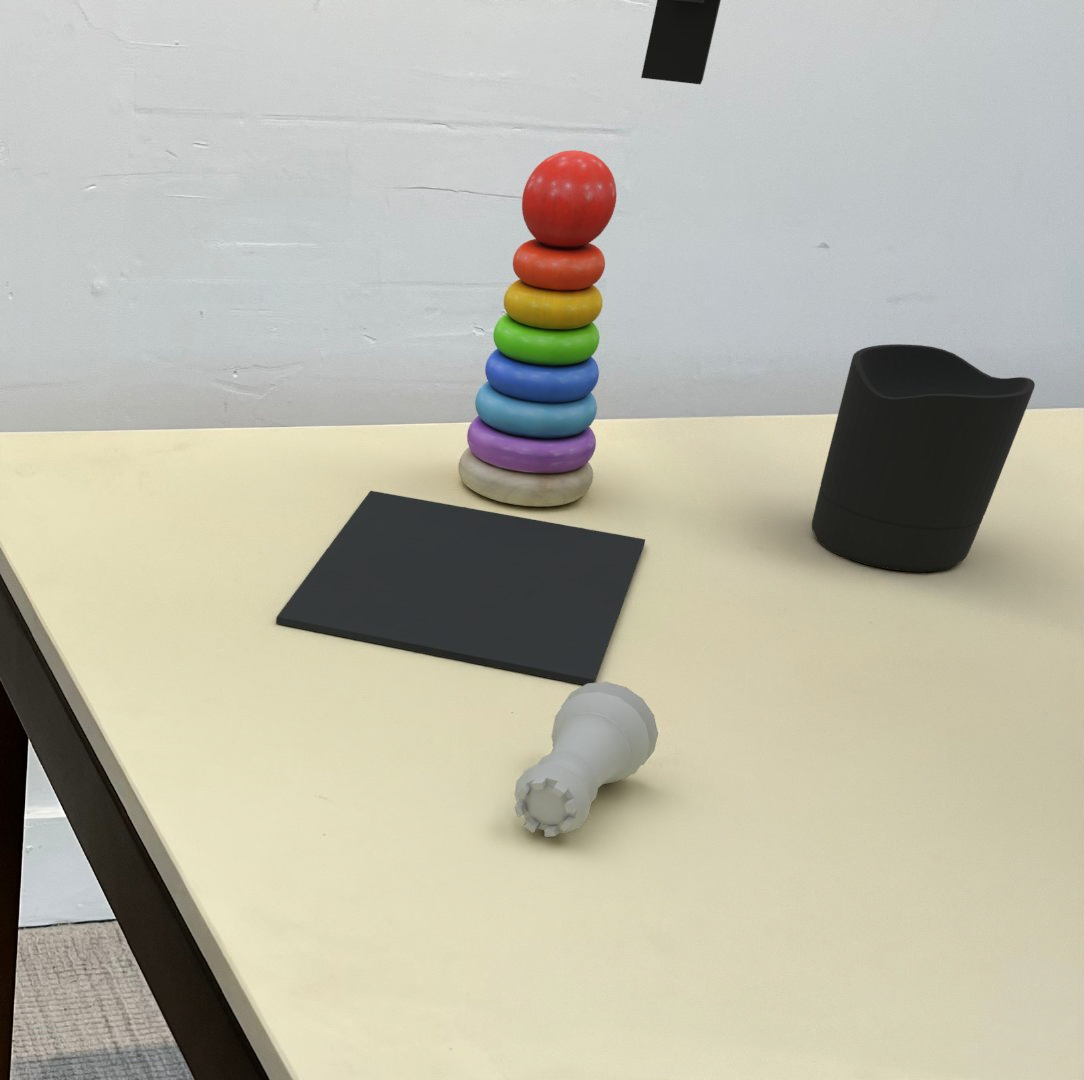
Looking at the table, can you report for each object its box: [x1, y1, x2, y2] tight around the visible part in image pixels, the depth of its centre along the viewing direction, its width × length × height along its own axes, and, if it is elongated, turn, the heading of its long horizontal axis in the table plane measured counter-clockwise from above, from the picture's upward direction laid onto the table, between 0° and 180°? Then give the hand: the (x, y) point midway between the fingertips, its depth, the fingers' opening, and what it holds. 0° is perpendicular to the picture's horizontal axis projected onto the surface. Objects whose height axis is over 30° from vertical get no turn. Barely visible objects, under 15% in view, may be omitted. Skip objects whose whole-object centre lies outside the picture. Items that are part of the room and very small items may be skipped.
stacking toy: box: [457, 150, 617, 507], centre depth 105 cm, size 8×8×19 cm
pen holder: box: [811, 343, 1036, 573], centre depth 103 cm, size 9×9×10 cm
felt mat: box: [275, 490, 646, 686], centre depth 99 cm, size 16×20×1 cm
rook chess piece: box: [513, 681, 659, 838], centre depth 78 cm, size 4×4×8 cm
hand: (672, 78), depth 86 cm, fingers closed
